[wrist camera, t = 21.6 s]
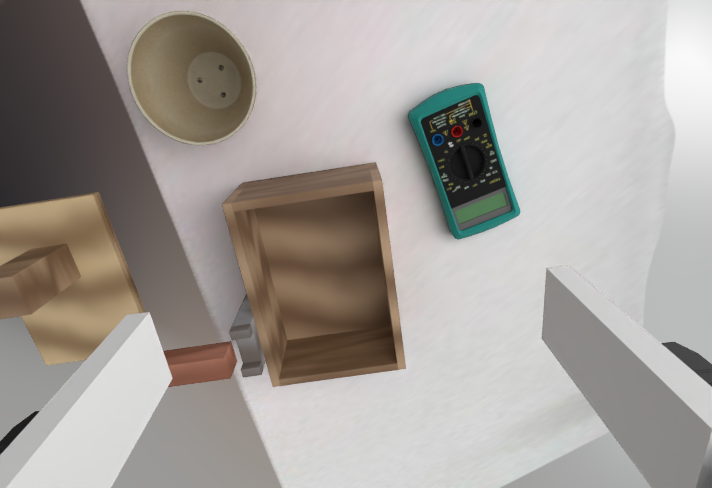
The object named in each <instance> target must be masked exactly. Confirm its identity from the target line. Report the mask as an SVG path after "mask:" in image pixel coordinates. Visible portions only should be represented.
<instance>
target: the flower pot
mask: <svg viewBox="0 0 712 488" xmlns="http://www.w3.org/2000/svg"><path fill="white" fill-rule="evenodd" d="M220 65H221V69H219V67H220ZM127 77H128V83H129V87H130V91H131V93H132V96H133V98H134V101H135V103H136V105H137V106H138V108H139V110H140V111H141V113H142V114H143V115H144V117H145V118H146V119H147V120H148V121H149V122H150V123H151V124H152V125H153V126H154V127H155V128H156V129H157V130H159V131H160V132H162V133H163V134H165V135H166V136H168V137H170V138H172V139H174V140H176V141H179V142H182V143H186V144H191V145H210V144H215V143H218V142H221V141H224V140H226V139H227V138H229V137H231V136H232V135H234V134H235V133H236V132H237V131H238V130H239V129H240V128H241V127H242V126H243V125H244V124H245V122H246V121H247V119H248V117H249V115H250V113H251V111H252V108H253V106H254V102H255V97H256V78H255V72H254V69H253V65H252V63H251V60H250V58H249V56H248V54H247V52H246V50H245V49H244V47H243V45H242V44H241V43H240V41H239V40H238V39H237V38H236V37H235V35H234V34H233V33H232V32H231V31H230V30H228V29H227V28H226V27H225V26H223V25H222V24H221V23H219V22H218V21H216V20H214V19H212V18H210V17H208V16H205V15H203V14H199V13H195V12H190V11H175V12H169V13H165V14H162V15H160V16H158V17H156V18H154V19H153V20H151V21H150V22H148V23H147V24H146V25H145V26H144V27H143V28H142V29H141V30H140V31H139V32H138V34H137V35H136V37H135V39H134V40H133V43H132V45H131V48H130V51H129V54H128V61H127ZM199 81H201V83H200V82H199ZM223 93H225V94H226V96H225V95H224V94H223Z"/></svg>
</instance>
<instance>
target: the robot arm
mask: <svg viewBox="0 0 712 488" xmlns="http://www.w3.org/2000/svg"><path fill="white" fill-rule="evenodd" d="M542 340H543V341H544V342H545V344H546V345H547V346H548V348H549V349H550V350H551V352H552V353H553V355H554V356H555V357H556V359H557V360H558V361H559V363H560V364H561V365H562V367H563V368H564V369H565V371H566V372H567V374H568V375H569V376H570V378H571V379H572V380H573V382H574V383H575V384H576V386H577V387H578V388H579V390H580V391H581V393H582V394H583V395H584V397H585V398H586V399H587V401H588V402H589V403H590V405H591V406H592V407H593V409H594V410H595V412H596V413H597V414H598V416H599V417H600V418H601V420H602V421H603V422H604V424H605V425H606V426H607V428H608V429H609V431H610V432H611V433H612V435H613V436H614V437H615V439H616V440H617V441H618V443H619V444H620V445H621V447H622V448H623V449H624V451H625V452H626V454H627V455H628V456H629V458H630V459H631V460H632V462H633V463H634V464H635V466H636V467H637V468H638V470H639V471H640V473H641V474H642V475H643V477H644V478H645V479H646V481H647V482H648V483H649V485H650V486H651V487H652V488H712V364H711V363H709V362H708V361H707V360H706V359H704V358H703V357H702V356H701V355H699V354H698V353H696V352H694V351H692V350H690V349H688V348H686V347H684V346H682V345H680V344H678V343H676V342H668V343H660V342H659V341H658V340H656V339H655V338H654V337H653V336H652V335H651V334H649V333H648V332H647V331H646V330H645V329H644V328H643V327H641V326H640V325H639V324H638V323H637V322H636V321H634V320H633V319H632V318H631V317H630V316H629V315H627V314H626V313H625V312H624V311H623V310H622V309H620V308H619V307H618V306H617V305H616V304H615V303H613V302H612V301H611V300H610V299H609V298H608V297H606V296H605V295H604V294H603V293H602V292H601V291H599V290H598V289H597V288H596V287H595V286H594V285H592V284H591V283H590V282H589V281H588V280H587V279H585V278H584V277H583V276H582V275H581V274H580V273H578V272H577V271H576V270H575V269H574V268H573V267H572V266H570V265H569V266H560V267H551V268H546V283H545V298H544V312H543V327H542ZM172 379H173V378H172V375H171V372H170V369H169V367H168V364H167V361H166V358H165V355H164V352H163V349H162V347H161V344H160V341H159V338H158V336H157V332H156V330H155V327H154V324H153V321H152V318H151V316H150V313H149V312H148V313H138V314H129V315H126V316H125V317H124V318H123V319H122V321H121V322H120V323H119V324H118V325H117V326H116V327H115V328H114V329H113V331H112V332H111V333H110V334H109V335H108V336H107V337H106V338H105V339H104V341H103V342H102V343H101V344H100V345H99V346H98V347H97V348H96V349H95V351H94V352H93V353H92V354H91V355H90V356H89V357H88V358H87V359H86V361H85V362H84V363H83V364H82V365H81V366H80V367H79V368H78V369H77V371H76V372H75V373H74V374H73V375H72V376H71V377H70V378H69V379H68V381H67V382H66V383H65V384H64V385H63V386H62V387H61V388H60V389H59V391H58V392H57V393H56V394H55V395H54V396H53V397H52V398H51V399H50V401H49V402H48V403H47V404H46V405H45V406H44V407H43V409H41V410H40V411H35V412H34V413H32V414H31V415H30V416H29V417H27V418H26V419H24V420H23V421H22V422H20V423H19V424H17V425H16V426H15V427H13V428H12V429H11V431H10V432H9V433H8V434H7V435H6V436H5V437H4V438H3V439H2V440H1V441H0V488H111V487H112V485H113V483H114V481H115V480H116V478H117V476H118V474H119V473H120V471H121V469H122V467H123V466H124V464H125V462H126V460H127V458H128V457H129V455H130V453H131V451H132V450H133V448H134V446H135V444H136V442H137V441H138V439H139V437H140V435H141V434H142V432H143V430H144V428H145V426H146V425H147V423H148V421H149V419H150V418H151V416H152V414H153V412H154V411H155V409H156V407H157V405H158V404H159V402H160V400H161V398H162V396H163V394H164V393H165V391H166V389H167V388H168V386H169V384H170V382H171V380H172Z"/></svg>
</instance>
